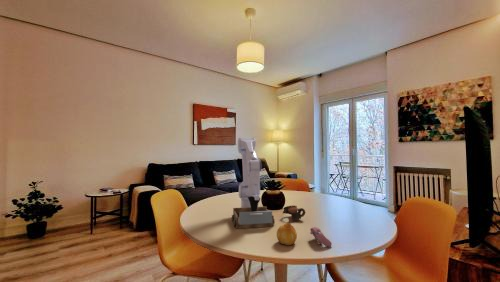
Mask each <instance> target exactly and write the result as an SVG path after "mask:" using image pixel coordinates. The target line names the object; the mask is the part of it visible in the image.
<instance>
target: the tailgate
mask: <svg viewBox="0 0 500 282" xmlns="http://www.w3.org/2000/svg"><path fill="white" fill-rule="evenodd" d="M272 215H273V211H272V210H268V211H255V212H239V224H240V225H245V224H262V223H272Z"/></svg>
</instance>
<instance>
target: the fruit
mask: <svg viewBox="0 0 500 282" xmlns="http://www.w3.org/2000/svg"><path fill="white" fill-rule="evenodd" d="M297 233H298V232H297V231H296V228H295V227H294V226H293V225H292V224H291V223H289V222H285V223H284V224H282V225H280V226H279V227H278V228H277V230H276V238H277V240H278V242H279V243H281V244H282V245H284V246H291V245H293V244H294V243H295V242H296V240H297V238H298V234H297Z"/></svg>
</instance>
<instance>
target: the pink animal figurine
mask: <svg viewBox="0 0 500 282" xmlns="http://www.w3.org/2000/svg"><path fill="white" fill-rule="evenodd" d="M309 230H310V233H309V234H310V235H312V236H313V237H314V239H315V240H316V242H317V243H318V244H319V245H323V246H325V247H328V248H329V247H332V246H333V245H332V242H331V240H329V238H327V237H326V236H325V235H324V233H323V232H322V230H321V228H319V227H316V226H312V227H311V228H309Z"/></svg>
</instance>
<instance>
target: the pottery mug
mask: <svg viewBox="0 0 500 282" xmlns="http://www.w3.org/2000/svg"><path fill="white" fill-rule="evenodd" d="M282 214H285V215H286V214H287V215H291V216H288V217H287V219H288V223H289V222H299V221H300V220H301V219H302V217H304V216H305V215H306V209H304V208H303V207H302V208H298V206H297V205H287V206H285V207H283V211H282Z"/></svg>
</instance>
